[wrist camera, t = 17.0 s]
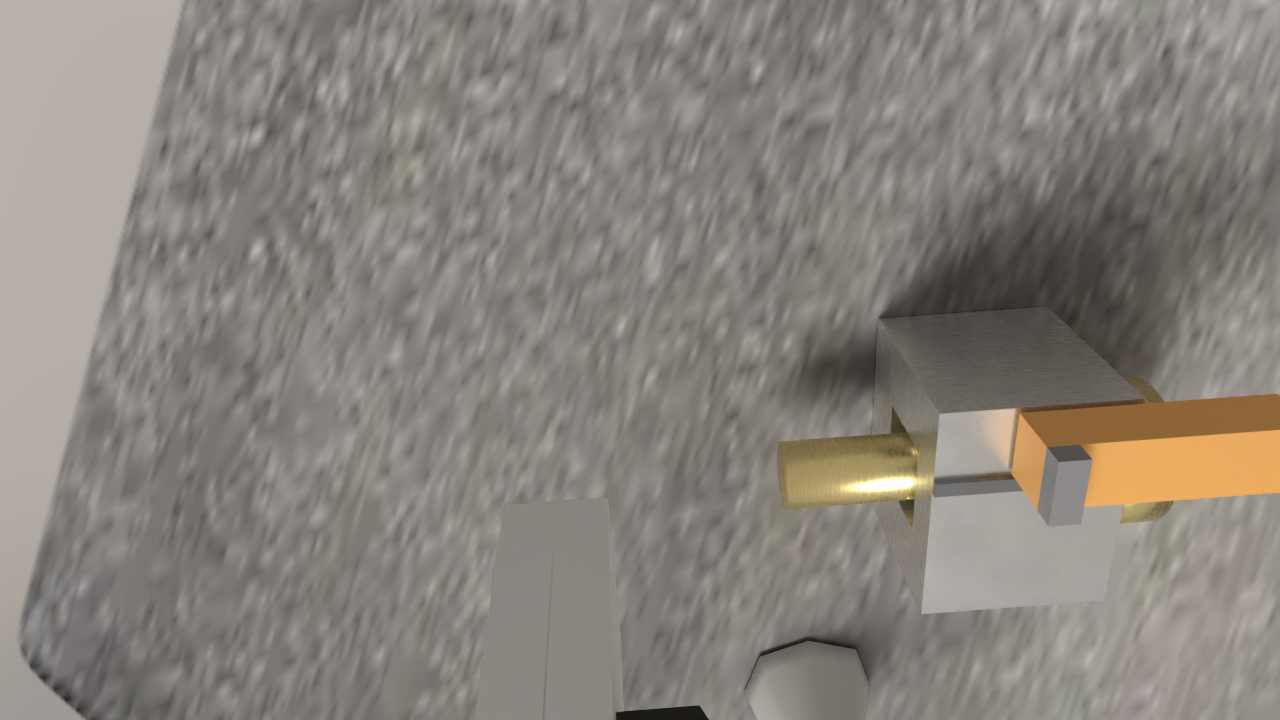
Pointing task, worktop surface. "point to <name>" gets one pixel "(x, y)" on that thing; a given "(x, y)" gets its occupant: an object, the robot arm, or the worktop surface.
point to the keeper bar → (1147, 454)
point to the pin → (884, 470)
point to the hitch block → (988, 457)
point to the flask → (809, 684)
